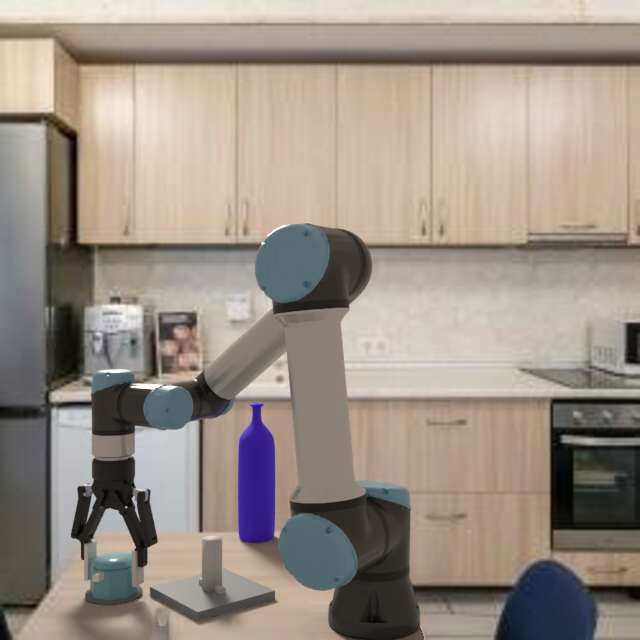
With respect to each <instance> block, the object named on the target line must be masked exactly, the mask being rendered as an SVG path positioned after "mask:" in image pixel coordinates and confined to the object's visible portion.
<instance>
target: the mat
mask: <svg viewBox="0 0 640 640" xmlns="http://www.w3.org/2000/svg"><path fill="white" fill-rule="evenodd" d="M142 596H143V587H142V586H141V585H139V586H137V592H136V593H134V594H132V595H131V596H129V597H127V598H121V599H114V600H104V599H97V598H93V596H92V594H91V592H90V588H89V589H87V590H86V591H85V593H84V599H85V600H86V602H88V603H90V604H92V605H98V606H116V605H117V606H118V604H119V605H124V604H127V603H128V602H129V603H131V602H130V601H132V602H134V601H136V599H137V600H138V599H139V598H140V599H141V597H142ZM123 603H124V604H123ZM129 603H128V604H129Z"/></svg>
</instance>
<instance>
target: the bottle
mask: <svg viewBox="0 0 640 640" xmlns="http://www.w3.org/2000/svg"><path fill="white" fill-rule="evenodd" d="M249 406H250V407H251V410H252V412H251V413H252V417H251V422H249V425H248V426H247V427H246V428H245V429H244V430H243V432H242V433H241V435H240V437H239V440H238V449H237V450H238V452H237V453H238V454H237V458H238V459H237V525H238V527H237V529H238V530H237V531H238V538H239V539H240V541H243V542H246V543H265V542H266V543H267V542H269V541H272V540H273V539H274V537H275V533H276V532H275V530H276V529H275V528H276V446H275V445H276V444H275V437H274V436H273V434H272V433H271V431H270V430H269V428H268V427H267V426H266V425H265V424H264V422H263V420H262V407H263V406H264V403H262V402H251V403H250V404H249Z"/></svg>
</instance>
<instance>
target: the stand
mask: <svg viewBox="0 0 640 640" xmlns="http://www.w3.org/2000/svg"><path fill="white" fill-rule="evenodd" d="M149 596H151V597H153V598H155V599H157V600H158V601H160V602H162V603H164V604H166V605H168V606H169V607H172V608H173V609H175V610H176V611H179V612H180V613H182V614H184V615H186V616H187V617H190V618H191V619H193V620H194V621H197V622H199V621H203V620H206V619H210V618H213V617H218V616H220V615H224V614H227V613H231V612H234V611H237V610H241V609H246V608H248V607H251V606H256V605H259V604H262V603H265V602H269V601H273V600H276V590H275V589H272V588H270V587H268V586H266V585H263V584H261V583H259V582H256V581H255V580H252V579H249V578H247V577H245V576H243V575H241V574H239V573H237V572H234V571H231V570H230V569H227V568H223V537H222V536H220V535H207V536H203V537H202V538H201V574H200V573H199V574H195V575H191V576H187V577H183V578H179V579H174V580H172V581H167V582H163V583H160V584H154V585H151V586H149Z"/></svg>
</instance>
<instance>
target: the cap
mask: <svg viewBox="0 0 640 640" xmlns="http://www.w3.org/2000/svg"><path fill="white" fill-rule="evenodd" d="M89 581H90V584H89V586H90V587H89V589H90V592H91V594H92V596H93V598H97V599H104V600H114V599H121V598H127V597H129V596H131V595H132V594H134V593H136V592H137V587H132V553H129V552H119V551H118V552H116V551H115V552H106V553H101V554H98V555H97V556H96V557H94V558H93V559H92V564H91V565H90V580H89Z"/></svg>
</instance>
